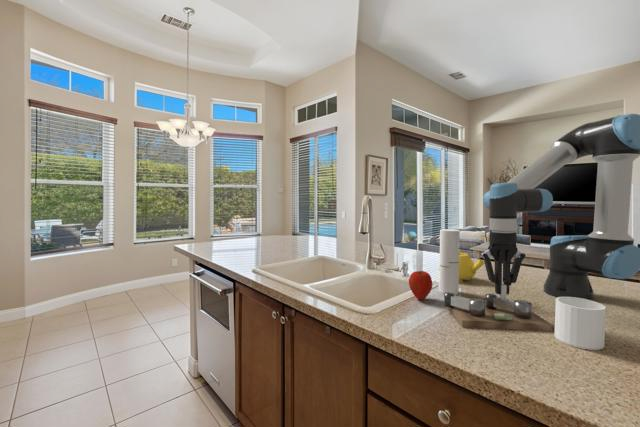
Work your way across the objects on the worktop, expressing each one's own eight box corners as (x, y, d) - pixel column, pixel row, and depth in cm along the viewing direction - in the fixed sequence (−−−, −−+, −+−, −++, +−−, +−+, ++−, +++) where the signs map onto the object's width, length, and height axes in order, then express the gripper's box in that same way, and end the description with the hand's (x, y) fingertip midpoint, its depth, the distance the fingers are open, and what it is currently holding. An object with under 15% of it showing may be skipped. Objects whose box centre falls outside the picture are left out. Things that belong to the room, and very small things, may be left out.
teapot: (492, 282, 136) (493, 251, 135) (473, 288, 127) (474, 255, 126) (450, 273, 152) (451, 246, 152) (431, 278, 143) (432, 249, 143)
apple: (415, 294, 120) (415, 267, 119) (436, 299, 114) (436, 270, 113) (404, 299, 114) (404, 270, 113) (425, 304, 108) (426, 274, 107)
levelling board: (523, 312, 100) (524, 301, 100) (550, 330, 86) (551, 317, 86) (447, 309, 103) (448, 298, 103) (462, 327, 89) (462, 314, 89)
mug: (603, 355, 73) (605, 313, 73) (551, 341, 80) (552, 303, 80) (605, 337, 82) (607, 300, 82) (558, 326, 89) (559, 292, 89)
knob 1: (487, 314, 93) (488, 301, 93) (481, 317, 90) (481, 304, 90) (448, 303, 103) (448, 291, 103) (441, 306, 100) (441, 294, 100)
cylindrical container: (460, 295, 118) (461, 231, 117) (440, 294, 120) (441, 230, 118) (456, 289, 125) (457, 229, 124) (437, 289, 126) (438, 229, 125)
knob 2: (533, 315, 91) (534, 302, 91) (528, 319, 89) (528, 306, 89) (489, 304, 101) (489, 292, 101) (483, 307, 99) (483, 295, 99)
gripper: (518, 230, 100) (517, 300, 102) (476, 230, 102) (476, 299, 103) (531, 232, 93) (530, 308, 94) (486, 232, 94) (485, 307, 96)
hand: (501, 303), depth 99 cm, fingers closed
